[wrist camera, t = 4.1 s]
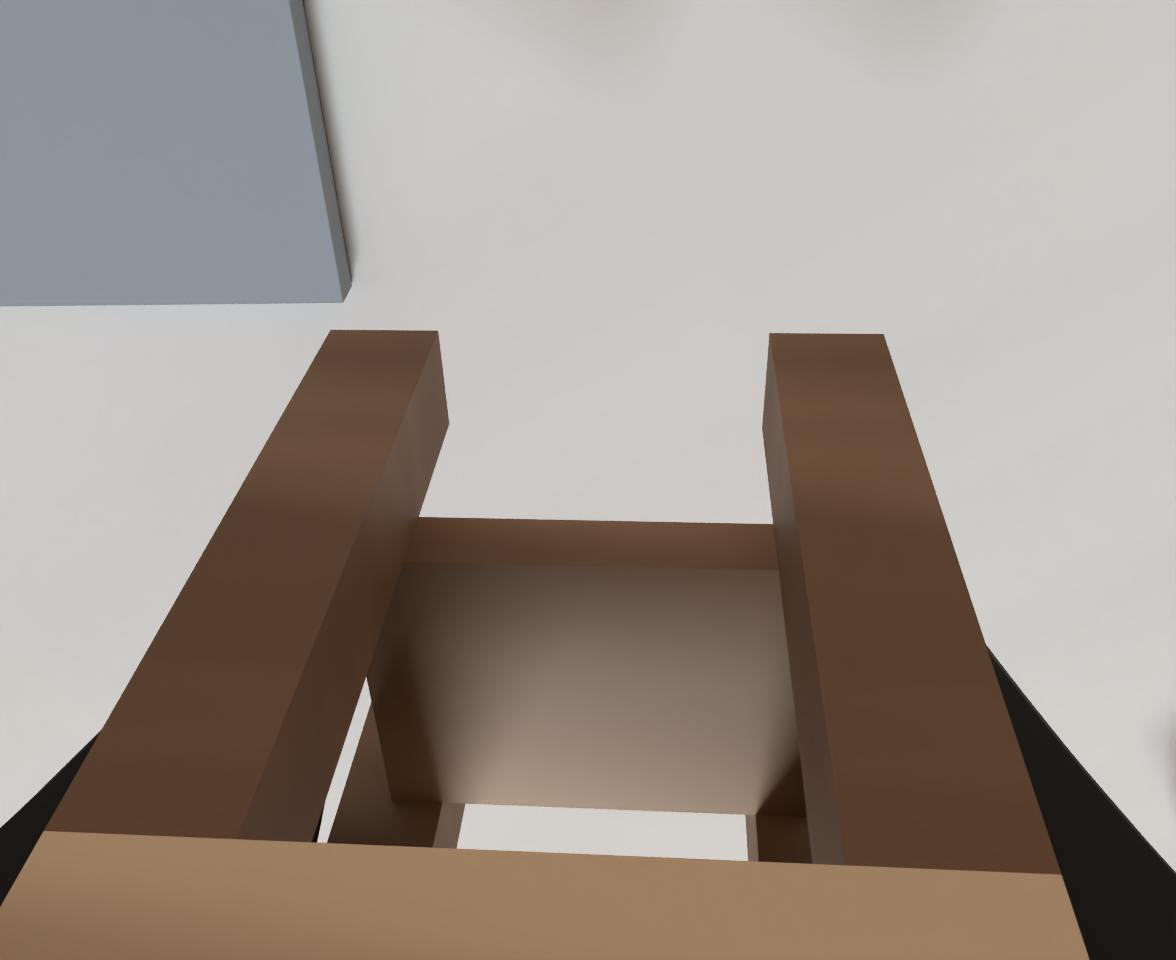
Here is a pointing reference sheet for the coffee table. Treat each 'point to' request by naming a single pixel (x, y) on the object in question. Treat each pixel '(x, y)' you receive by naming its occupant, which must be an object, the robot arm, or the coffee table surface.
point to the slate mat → (164, 156)
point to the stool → (558, 711)
